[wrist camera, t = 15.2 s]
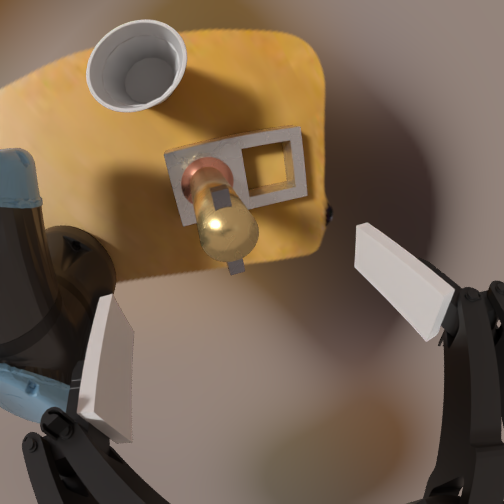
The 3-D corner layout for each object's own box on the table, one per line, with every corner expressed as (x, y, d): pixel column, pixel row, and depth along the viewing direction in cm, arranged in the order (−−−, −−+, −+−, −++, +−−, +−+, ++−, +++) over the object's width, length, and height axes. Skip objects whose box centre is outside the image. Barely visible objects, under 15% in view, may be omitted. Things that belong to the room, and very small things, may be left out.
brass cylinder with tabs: (183, 161, 28) (188, 199, 16) (219, 152, 29) (251, 183, 17) (196, 213, 32) (211, 281, 20) (229, 205, 32) (264, 266, 20)
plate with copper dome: (182, 217, 35) (183, 227, 32) (165, 150, 30) (163, 154, 27) (298, 189, 37) (308, 196, 34) (290, 125, 32) (301, 126, 30)
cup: (195, 89, 27) (205, 76, 17) (137, 126, 28) (115, 132, 17) (164, 39, 23) (158, 3, 13) (106, 76, 23) (71, 59, 13)
